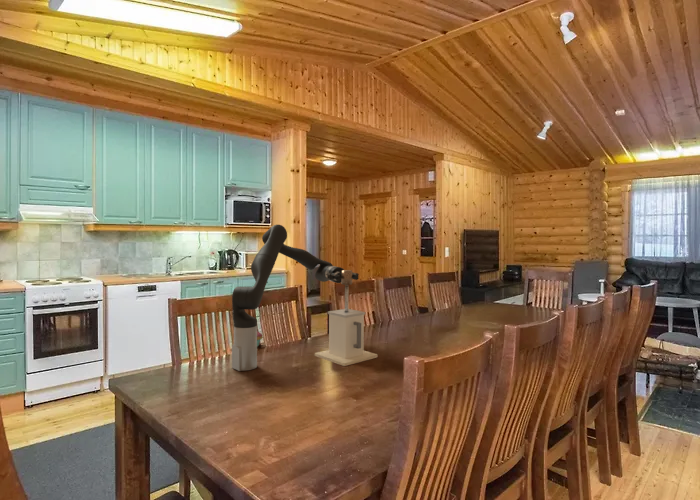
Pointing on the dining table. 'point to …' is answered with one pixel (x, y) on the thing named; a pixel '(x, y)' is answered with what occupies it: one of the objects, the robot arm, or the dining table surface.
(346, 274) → the plunger
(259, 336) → the cupcake
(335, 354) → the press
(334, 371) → the dining table surface
